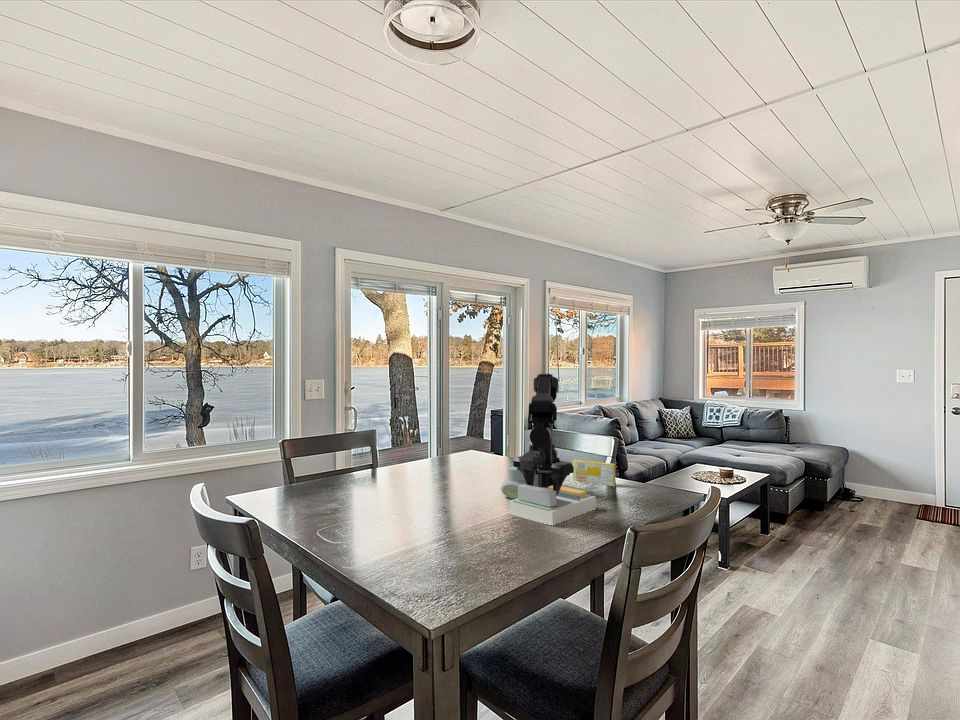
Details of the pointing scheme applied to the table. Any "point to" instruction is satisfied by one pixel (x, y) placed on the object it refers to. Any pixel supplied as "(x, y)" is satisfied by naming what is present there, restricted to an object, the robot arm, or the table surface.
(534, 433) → the robot arm
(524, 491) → the grey rectangular block
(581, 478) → the candy box
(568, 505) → the breaker box
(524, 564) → the table surface
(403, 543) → the table surface
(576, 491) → the yellow rectangular block
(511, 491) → the air freshener
